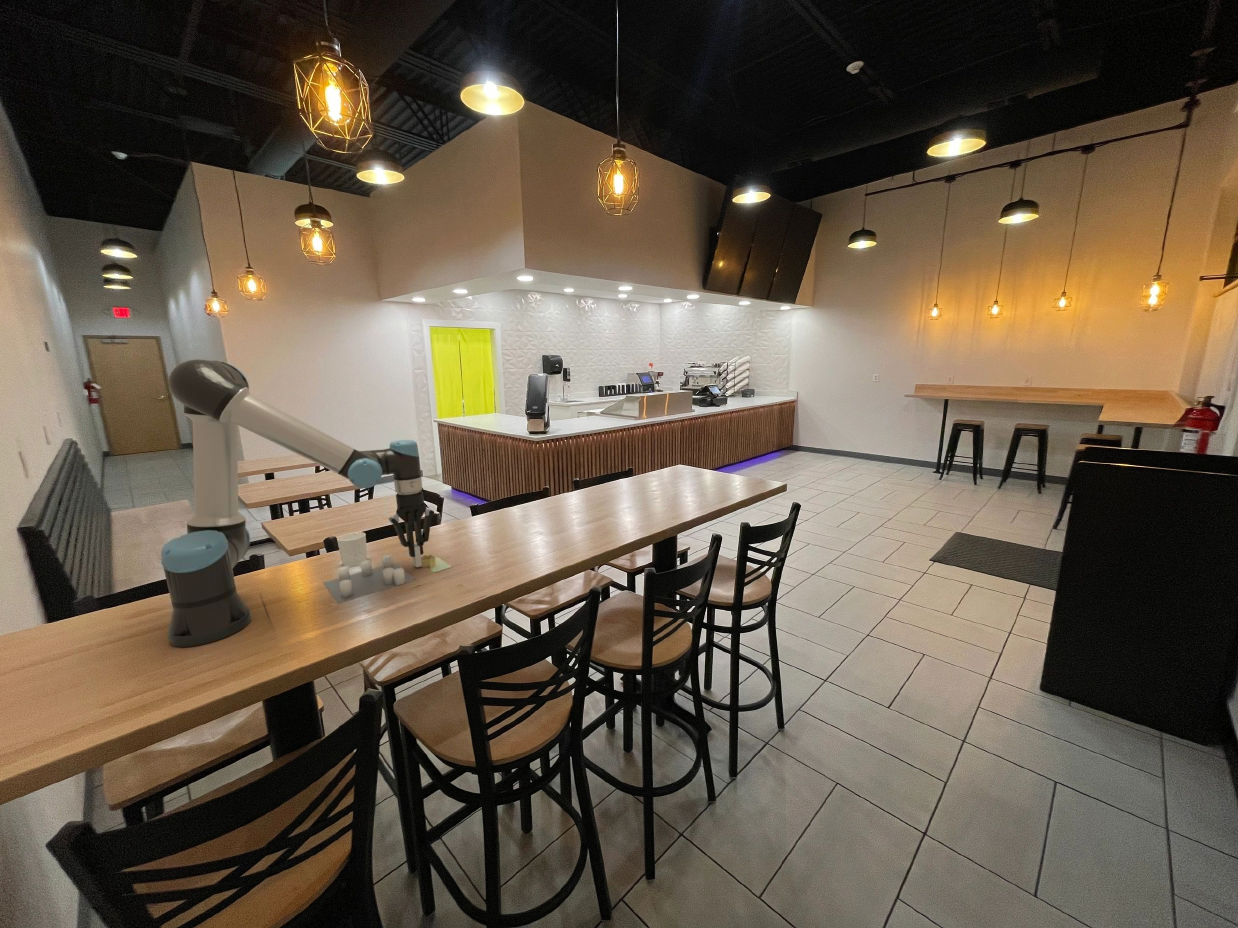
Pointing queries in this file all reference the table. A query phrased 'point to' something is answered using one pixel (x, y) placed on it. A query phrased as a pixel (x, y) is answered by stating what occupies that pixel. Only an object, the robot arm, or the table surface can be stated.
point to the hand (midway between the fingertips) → (417, 565)
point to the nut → (428, 561)
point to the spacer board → (366, 580)
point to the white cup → (352, 548)
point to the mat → (440, 565)
